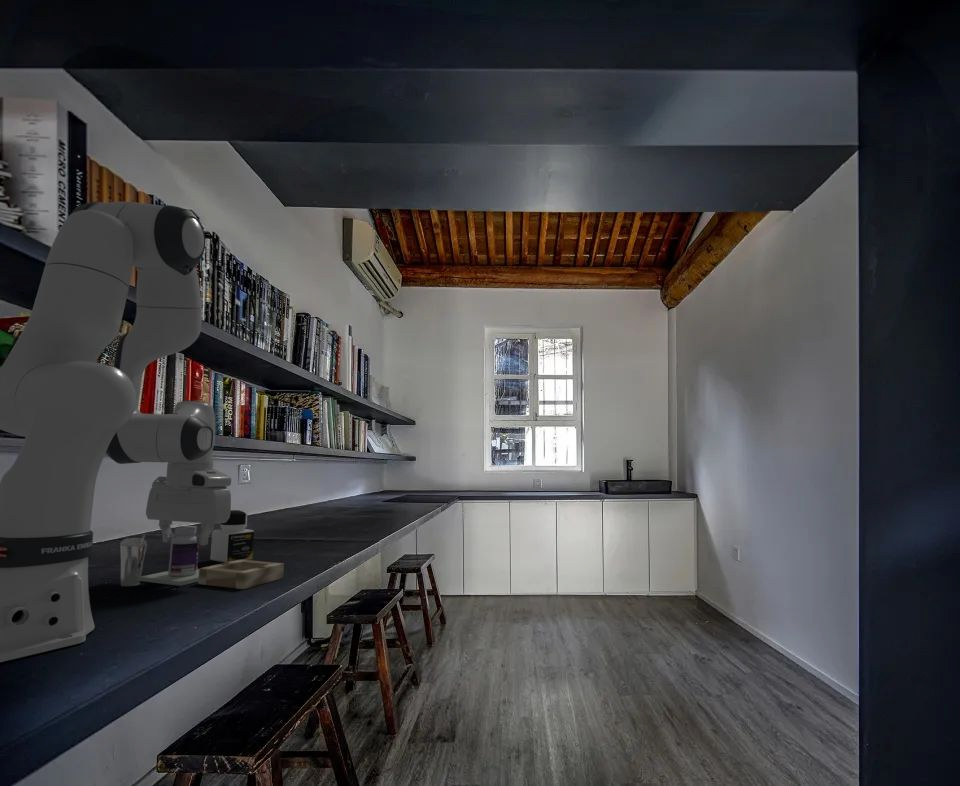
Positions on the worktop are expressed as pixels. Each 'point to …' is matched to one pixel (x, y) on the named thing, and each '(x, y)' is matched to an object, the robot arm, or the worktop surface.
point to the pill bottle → (183, 552)
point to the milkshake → (132, 560)
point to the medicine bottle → (233, 539)
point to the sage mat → (171, 578)
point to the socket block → (241, 574)
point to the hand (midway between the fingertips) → (184, 543)
